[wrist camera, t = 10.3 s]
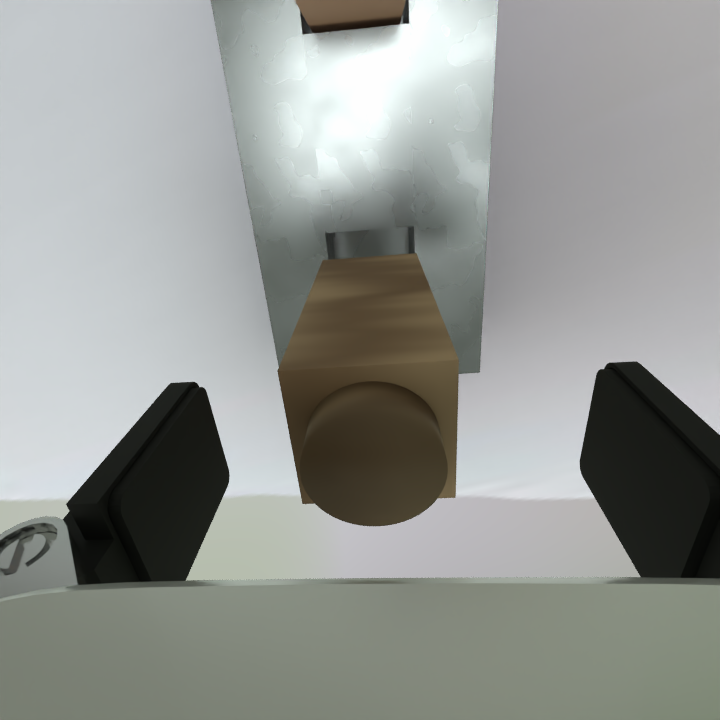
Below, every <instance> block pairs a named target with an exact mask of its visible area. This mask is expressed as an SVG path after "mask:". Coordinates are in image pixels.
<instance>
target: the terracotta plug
mask: <svg viewBox="0 0 720 720" xmlns="http://www.w3.org/2000/svg"><path fill="white" fill-rule="evenodd" d="M405 1H406V0H295V2H296V4H297V5H298V7H299V9H300V11H301V13H302V14H303V16H304V18H305V20H306V22H307V24H308V25H309V27H310V29H311V31H312V33H313V34H314V33H323V32H333V31H342V30H352V29H362V28H371V27H381V26H390V25H400V22H401V18H402V13H403V9H404V5H405Z"/></svg>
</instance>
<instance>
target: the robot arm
mask: <svg viewBox="0 0 720 720" xmlns="http://www.w3.org/2000/svg"><path fill="white" fill-rule="evenodd" d="M580 470H581V474H582V476H583V478H584V480H585V481H586V483H587V485H588V487H589V488H590V490H591V492H592V493H593V495H594V497H595V499H596V500H597V502H598V504H599V506H600V507H601V509H602V511H603V512H604V514H605V516H606V517H607V519H608V521H609V523H610V524H611V526H612V528H613V530H614V531H615V533H616V535H617V537H618V538H619V540H620V542H621V544H622V545H623V547H624V549H625V550H626V552H627V554H628V555H629V557H630V559H631V560H632V563H633V564H634V566H635V568H636V569H637V571H638V573H639V575H640V576H641V577H567V578H566V577H559V578H558V577H555V578H554V577H542V578H541V577H540V578H539V577H538V578H537V577H533V578H530V577H526V578H525V577H524V578H523V577H519V578H518V577H516V578H515V577H514V578H508V577H506V578H360V579H359V578H355V579H354V578H353V579H270V580H269V579H266V580H197V581H194V580H193V581H185V580H186V578H187V576H188V574H189V572H190V569H191V567H192V565H193V563H194V560H195V558H196V556H197V553H198V551H199V549H200V547H201V544H202V542H203V540H204V538H205V535H206V533H207V531H208V529H209V527H210V524H211V522H212V520H213V518H214V515H215V513H216V511H217V509H218V506H219V504H220V502H221V500H222V497H223V495H224V493H225V491H226V489H227V486H228V483H229V469H228V466H227V462H226V459H225V455H224V452H223V448H222V445H221V441H220V438H219V434H218V431H217V427H216V424H215V420H214V417H213V413H212V410H211V406H210V403H209V399H208V395H207V392H206V390H205V389H204V388H203V387H199V386H198V384H197V383H195V382H182V383H171V384H169V385H168V386H167V388H166V389H165V390H164V391H163V392H162V393H161V394H160V396H159V397H158V398H157V399H156V400H155V401H154V403H153V404H152V405H151V406H150V407H149V408H148V410H147V411H146V412H145V413H144V414H143V415H142V417H141V418H140V419H139V420H138V421H137V422H136V424H135V425H134V426H133V427H132V428H131V429H130V431H129V432H128V433H127V434H126V435H125V436H124V437H123V439H122V440H121V441H120V442H119V443H118V444H117V446H116V447H115V448H114V449H113V450H112V451H111V453H110V454H109V455H108V456H107V457H106V458H105V460H104V461H103V462H102V463H101V464H100V465H99V467H98V468H97V469H96V470H95V471H94V472H93V474H92V475H91V476H90V477H89V478H88V479H87V481H86V482H85V483H84V484H83V485H82V486H81V487H80V489H79V490H78V491H77V492H76V493H75V494H74V496H73V497H72V498H71V499H70V500H69V501H68V503H67V504H66V505H67V507H68V509H69V510H70V512H69V513H68V514H67V515H66V516H65V517H64V519H63V520H62V519H60V518H57V517H40V518H35V519H31V520H28V521H26V522H23V523H20V524H18V525H16V526H14V527H12V528H10V529H8V530H6V531H5V532H3V533H2V534H0V720H720V435H719V434H718V433H717V432H716V431H714V430H713V429H712V428H711V427H710V426H709V425H708V424H707V423H706V422H704V421H703V420H702V419H701V418H700V417H699V416H698V415H697V414H695V413H694V412H693V411H692V410H691V409H690V408H689V407H688V406H687V405H685V404H684V403H683V402H682V401H681V400H680V399H679V398H678V397H677V396H675V395H674V394H673V393H672V392H671V391H670V390H669V389H668V388H667V387H665V386H664V385H663V384H662V383H661V382H660V381H659V380H658V379H657V378H655V377H654V376H653V375H652V374H651V373H650V372H649V371H648V370H646V369H645V368H644V367H643V366H642V365H641V364H640V363H638V362H617V363H608V364H607V365H606V366H605V368H604V369H600V370H599V371H598V373H597V375H596V380H595V385H594V390H593V395H592V401H591V406H590V411H589V416H588V421H587V426H586V432H585V437H584V442H583V447H582V452H581V457H580Z"/></svg>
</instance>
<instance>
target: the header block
mask: <svg viewBox="0 0 720 720" xmlns="http://www.w3.org/2000/svg"><path fill="white" fill-rule="evenodd" d="M211 4H212V9H213V15H214V20H215V26H216V31H217V36H218V42H219V47H220V52H221V58H222V63H223V69H224V74H225V79H226V85H227V90H228V95H229V101H230V106H231V112H232V117H233V122H234V128H235V133H236V139H237V144H238V149H239V155H240V160H241V165H242V171H243V176H244V182H245V187H246V192H247V198H248V203H249V208H250V214H251V219H252V225H253V230H254V235H255V241H256V246H257V252H258V257H259V262H260V268H261V273H262V278H263V284H264V289H265V295H266V300H267V305H268V311H269V316H270V321H271V327H272V332H273V338H274V343H275V348H276V354H277V359H278V365H279V366H280V364H281V361H282V359H283V356H284V354H285V351H286V349H287V347H288V344H289V342H290V339H291V337H292V334H293V332H294V329H295V327H296V324H297V322H298V320H299V317H300V315H301V312H302V310H303V307H304V305H305V302H306V300H307V297H308V295H309V293H310V290H311V288H312V285H313V283H314V280H315V278H316V275H317V273H318V271H319V268H320V266H321V263H322V261H323V260H331V259H345V258H358V257H371V256H385V255H398V254H412V253H417V256H418V258H419V261H420V263H421V266H422V268H423V271H424V273H425V276H426V278H427V281H428V283H429V286H430V288H431V291H432V293H433V296H434V299H435V301H436V304H437V306H438V309H439V311H440V314H441V316H442V319H443V321H444V324H445V326H446V329H447V331H448V334H449V336H450V339H451V341H452V344H453V346H454V349H455V352H456V354H457V357H458V359H459V374H462V373H479V372H480V355H481V335H482V315H483V295H484V275H485V255H486V235H487V215H488V195H489V174H490V154H491V134H492V114H493V94H494V74H495V54H496V34H497V14H498V0H406V1H405V5H404V9H403V13H402V18H401V22H400V25H390V26H381V27H371V28H362V29H352V30H342V31H333V32H323V33H314V34H313V33H312V31H311V29H310V27H309V25H308V24H307V22H306V20H305V18H304V16H303V14H302V13H301V11H300V9H299V7H298V5H297V4H296V2H295V0H211Z"/></svg>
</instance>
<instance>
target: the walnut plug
mask: <svg viewBox="0 0 720 720" xmlns="http://www.w3.org/2000/svg"><path fill="white" fill-rule="evenodd" d="M458 374H459V359H458V357H457V354H456V352H455V349H454V346H453V344H452V341H451V339H450V336H449V334H448V331H447V329H446V326H445V324H444V321H443V319H442V316H441V314H440V311H439V309H438V306H437V304H436V301H435V299H434V296H433V293H432V291H431V288H430V286H429V283H428V281H427V278H426V276H425V273H424V271H423V268H422V266H421V263H420V261H419V258H418V256H417V253H412V254H398V255H385V256H371V257H358V258H345V259H331V260H323V261H322V263H321V266H320V268H319V271H318V273H317V275H316V278H315V280H314V283H313V285H312V288H311V290H310V293H309V295H308V297H307V300H306V302H305V305H304V307H303V310H302V312H301V315H300V317H299V320H298V322H297V324H296V327H295V329H294V332H293V334H292V337H291V339H290V342H289V344H288V347H287V349H286V351H285V354H284V356H283V359H282V361H281V364H280V366H279V369H278V376H279V381H280V386H281V392H282V397H283V402H284V408H285V413H286V418H287V424H288V429H289V434H290V440H291V445H292V450H293V456H294V461H295V466H296V471H297V477H298V482H299V487H300V493H301V498H302V503H303V504H313V503H315V504H316V505H317V506H318V507H319V508H321V509H322V510H323V511H325V512H326V513H328V514H329V515H331V516H333V517H335V518H337V519H340V520H342V521H345V522H348V523H352V524H357V525H363V526H385V525H392V524H397V523H400V522H404V521H406V520H409V519H411V518H413V517H415V516H417V515H419V514H420V513H422V512H423V511H425V510H426V509H428V508H429V507H430V506H431V505H432V504H433V503H434V502H435V501H436V500H437V498H455V495H456V455H457V414H458Z"/></svg>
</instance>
